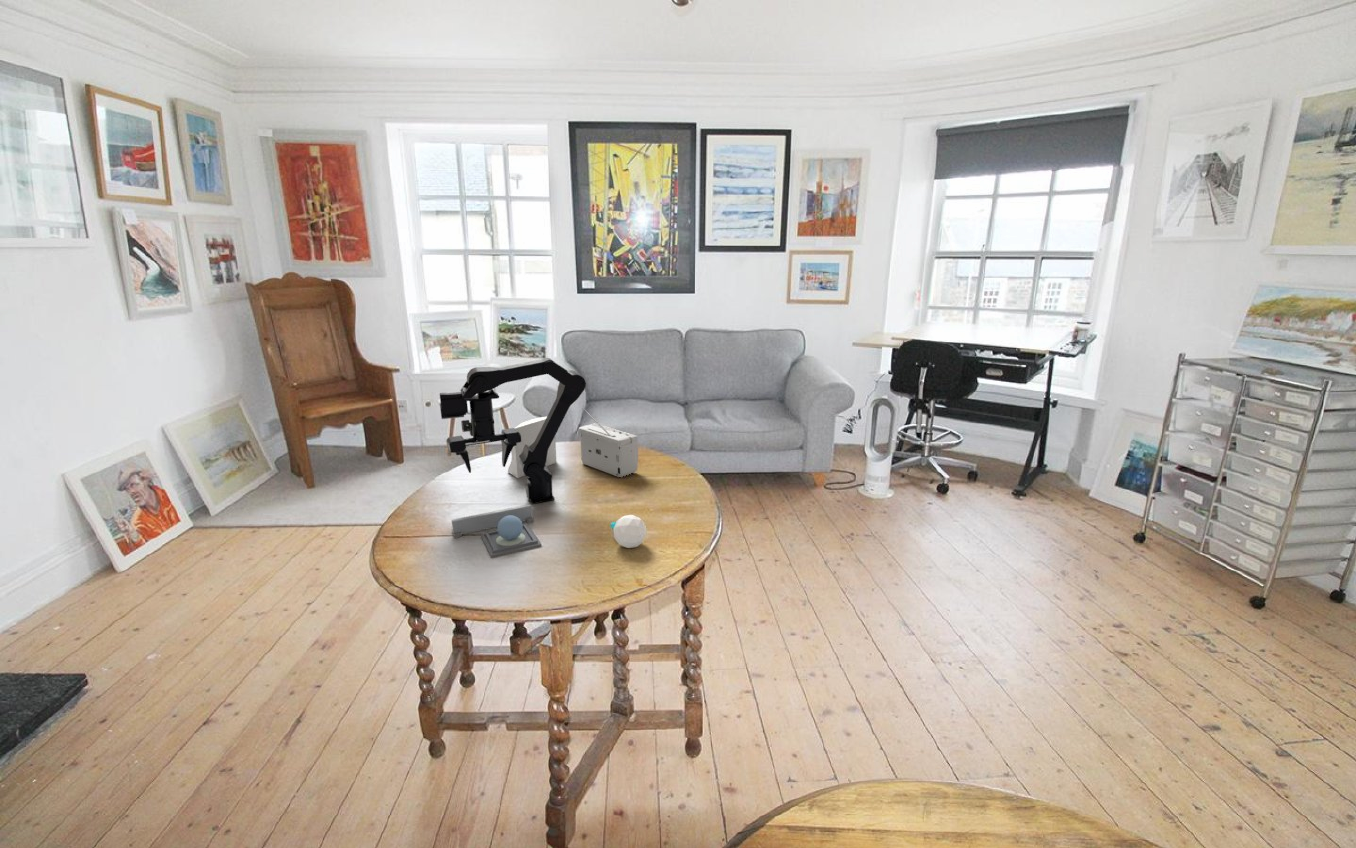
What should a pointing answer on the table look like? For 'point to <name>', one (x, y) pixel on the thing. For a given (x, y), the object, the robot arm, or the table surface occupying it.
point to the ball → (510, 527)
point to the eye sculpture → (528, 436)
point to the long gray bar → (489, 520)
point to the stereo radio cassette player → (608, 449)
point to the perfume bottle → (629, 531)
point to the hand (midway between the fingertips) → (487, 469)
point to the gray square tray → (510, 542)
